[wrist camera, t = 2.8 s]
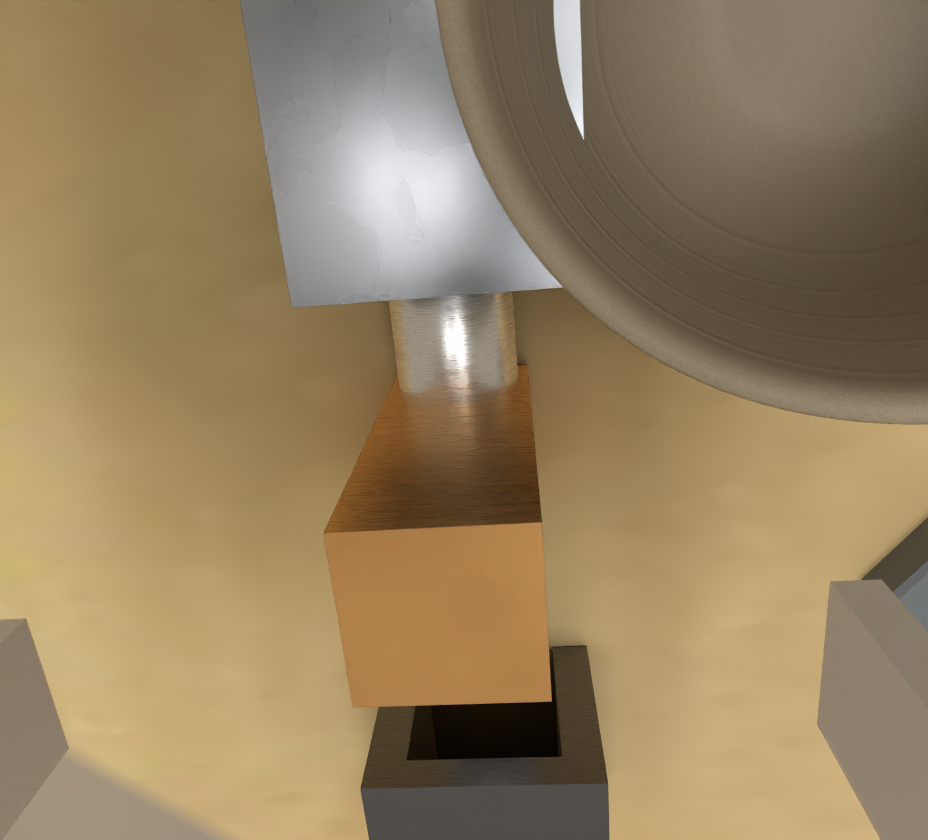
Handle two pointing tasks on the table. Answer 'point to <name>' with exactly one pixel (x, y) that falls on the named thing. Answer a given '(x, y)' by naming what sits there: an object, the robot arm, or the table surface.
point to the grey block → (382, 154)
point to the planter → (722, 184)
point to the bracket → (908, 573)
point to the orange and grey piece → (445, 520)
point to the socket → (491, 776)
